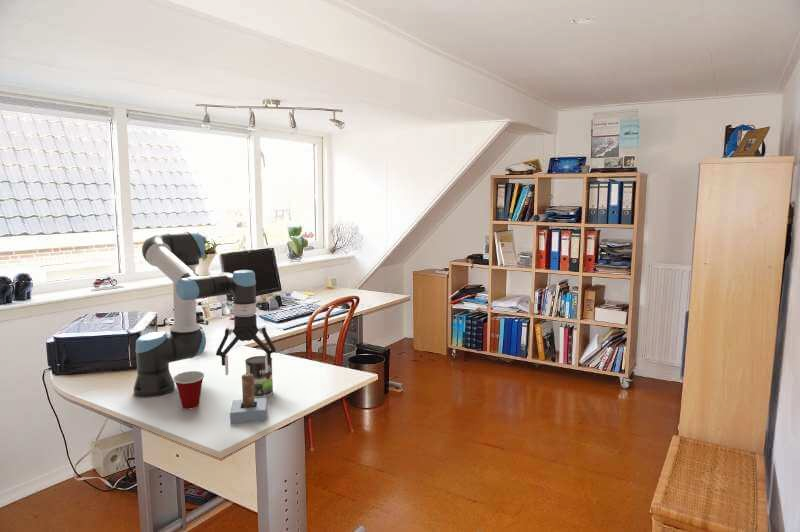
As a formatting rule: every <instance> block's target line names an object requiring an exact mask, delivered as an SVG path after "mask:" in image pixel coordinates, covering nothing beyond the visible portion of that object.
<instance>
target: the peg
mask: <svg viewBox="0 0 800 532" xmlns="http://www.w3.org/2000/svg"><path fill="white" fill-rule="evenodd" d="M241 387H242V389H241V390H242V399H243V408H252V407H255V400H254V377H253V374H246V373H244V374H241Z"/></svg>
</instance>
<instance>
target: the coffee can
mask: <svg viewBox="0 0 800 532" xmlns="http://www.w3.org/2000/svg"><path fill="white" fill-rule="evenodd" d="M244 363H245V374H253V377H254V398H267V397H270V396H271V395H273V394H274V389H273V386H274V385H273V384H274V383H273V358H272V357H271V362H270V363H268V373H265V355H257V356H251V357H248V358H246V359H245V361H244Z"/></svg>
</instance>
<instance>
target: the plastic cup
mask: <svg viewBox="0 0 800 532" xmlns="http://www.w3.org/2000/svg"><path fill="white" fill-rule="evenodd" d="M204 377H205V374H204V372H201V371H196V370H191V371H184V372H181V373H178V374H176V375H174V376H173V377H172V378H173V381H174V384H175V386H176V388H177V392H178V393H177V394H178V396H179V400H180V404H181V406H182V408H183V409H184V410H192V409H193V410H194V409H195V408H198V407H199V404H200V399H201V394H202V393H201V392H202V385H203V379H204Z"/></svg>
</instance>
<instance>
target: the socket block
mask: <svg viewBox="0 0 800 532" xmlns="http://www.w3.org/2000/svg"><path fill="white" fill-rule="evenodd" d="M254 400H255V407H252V408H243V398H242V399H234V400H232V403H231V407H230V410H229V419H230V420H229V421H230V422H229V423H230V425H235V424H243V423H244V424H245V423H256V422H255V421H258V422H266V421H267V415H268V414H267V412H268V411H267V410H268V405H267V404H268V402H267V400H268V399H267V397H263V398H254ZM266 414H267V415H266ZM265 420H266V421H265Z"/></svg>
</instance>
